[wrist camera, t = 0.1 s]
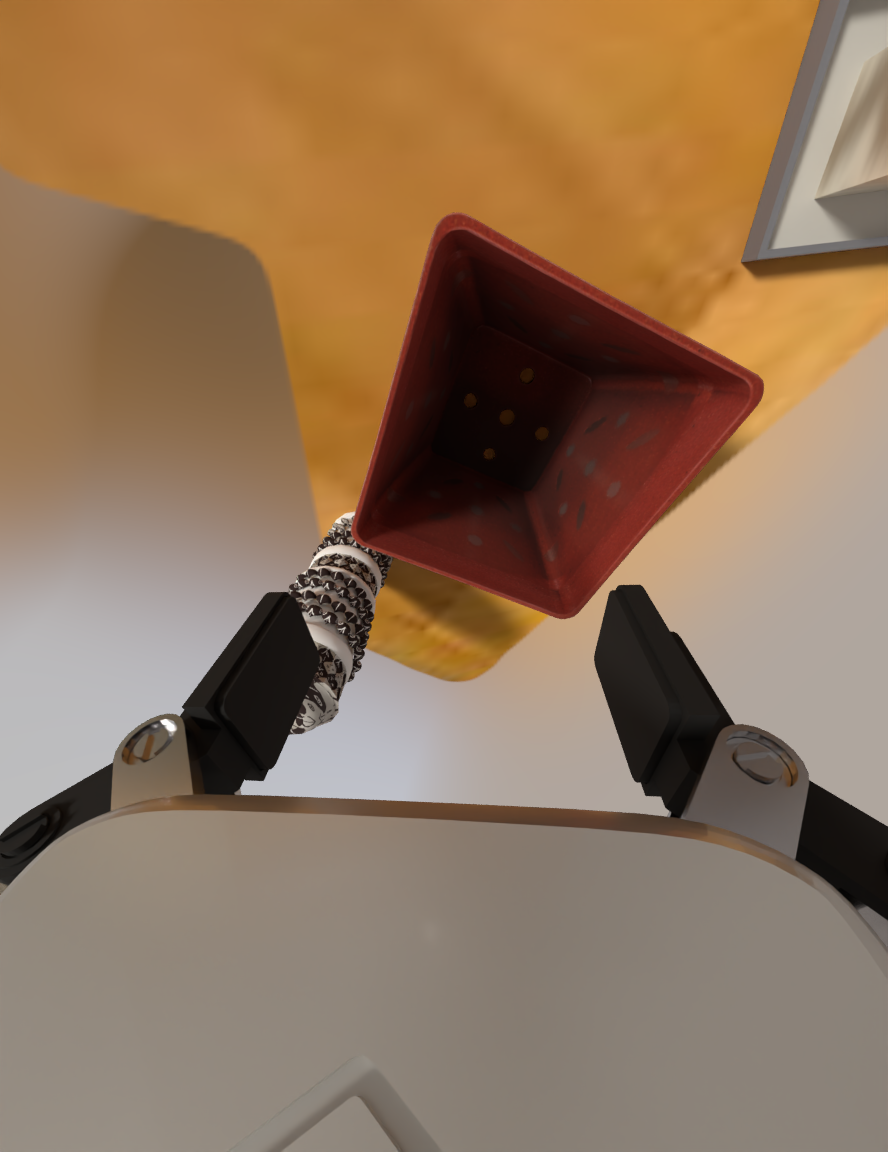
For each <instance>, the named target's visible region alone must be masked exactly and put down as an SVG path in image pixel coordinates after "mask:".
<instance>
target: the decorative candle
mask: <svg viewBox="0 0 888 1152" xmlns="http://www.w3.org/2000/svg"><path fill="white" fill-rule="evenodd" d="M354 515H355V512H349V513H345V514H344V515H342V516H341V517H340V518H338V519H337V520H336V521H335V523H334V524H333V525H332V526H333V527H332V529H330V530H329V531H328V535H329V536H330V537H324V538H323V544H320V545H319V546H318V551H316V552H315V553H314V554H313V561H312V563H311V565H310V567H309V569H308V570H307V571H305V572H304V573H302V574H300V575H298V576H297V581H296V583H295V584H291V585H290V586H289V592H288V593H289V594H290V595H291V597H294V598H295V599H296V600H297V603H298V605H299V607H300V610H301V612H302V614H303V617H304V619H305V622H306V624H307V626H308V629H309V631H310V633H311V636H312V638H313V640H314V643H315V645H316V648H317V650H318V652H319V655H320V664H319V667H318V669H317V672H316V674H315V676H314V678H313V681H312V683H311V685H310V688H309V690H308V692H307V694H306V697H305V699H304V701H303V703H302V706H301V708H300V710H299V712H298V715H297V717H296V719H295V721H294V724H293V726H292V728H291V731H290V733H289V735H290V734H302V733H305V732H307V731H310V730H312V729H314V728H315V727H317V726H320V725H322V724H325V723H328V722H330V721H332V719H333V718H334V717H335V715H337V713H338V701H339V699H340V696H341V693H342V690H343V687H344V685H345V684H346V683H347V682H350V681H352V680H353V679H354V672H357V671H359V670H360V669H361V663H360V661H359V660H361V659H362V658H363V657H364V654H365V652H364V650H363V649H364V648H365V647H366V645H367V640H368V639H369V634H368V633H367V632H369V631H370V630H371V627H372V625H371V623H370V622H372V621H373V619H374V613H375V602H376V600H375V598H376V596H377V595H378V593H379V590H380V588H382V587H383V586H384V584H385V582H384V579H386V577H387V573H386V572H388V571H389V569H390V567H391V563H392V561H393V557H391V556H389V555H386V554H383V553H380V552H377V551H375V550H372V549H369V548H366V547H364V546H362V545H360V544H358V543H357V542H356V541H355V540H354V539H353V537H352V535H351V525H352V522H353V518H354ZM353 655H354V659H353Z"/></svg>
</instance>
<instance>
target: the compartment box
mask: <svg viewBox="0 0 888 1152" xmlns="http://www.w3.org/2000/svg"><path fill="white" fill-rule="evenodd" d="M887 47H888V0H820V3H819V7H818V10H817V13H816V17H815V20H814V23H813V26H812V30H811V33H810V36H809V40H808V43H807V46H806V49H805V53H804V56H803V59H802V63H801V66H800V69H799V73H798V76H797V79H796V82H795V86H794V89H793V92H792V96H791V99H790V102H789V105H788V109H787V112H786V115H785V119H784V122H783V125H782V129H781V132H780V135H779V138H778V142H777V145H776V148H775V152H774V155H773V158H772V161H771V165H770V168H769V171H768V175H767V178H766V181H765V185H764V188H763V191H762V194H761V198H760V201H759V204H758V208H757V211H756V214H755V218H754V221H753V224H752V227H751V231H750V234H749V237H748V241H747V244H746V247H745V250H744V254H743V257H742V260H741V262H749V261H758V260H767V259H776V258H785V257H794V256H803V255H812V254H821V253H830V252H839V251H848V250H857V249H866V248H875V247H884V246H888V190H883V191H875V192H867V193H859V194H851V195H843V196H835V197H827V198H819V199H814V198H815V195H816V193H817V190H818V187H819V185H820V182H821V179H822V176H823V174H824V171H825V168H826V165H827V163H828V160H829V157H830V154H831V152H832V149H833V146H834V143H835V141H836V138H837V135H838V133H839V130H840V127H841V124H842V122H843V119H844V116H845V113H846V111H847V108H848V105H849V102H850V100H851V97H852V94H853V92H854V89H855V86H856V83H857V81H858V78H859V75H860V72H861V70H862V67H863V64H864V62H865V61H867V60H868V59H870V58H871V57H873V56H874V55H876V54H878V53H879V52H881V51H882V50H884V49H885V48H887Z"/></svg>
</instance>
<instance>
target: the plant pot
mask: <svg viewBox="0 0 888 1152" xmlns="http://www.w3.org/2000/svg"><path fill="white" fill-rule="evenodd" d="M525 368H531V369H533V371H534V373H535V378H534V379H533V381H532V382H531V383H530V384H523V383H522V382H521V381H520V373H521V372H522V370H523V369H525ZM763 391H764V383H763V380H762V379H761V378H760V377H759V376H758V375H757V374H755V373H753V372H751V371H750V370H748V369H746V368H744V367H743V366H741V365H739V364H737V363H735V362H734V361H732V360H730V359H728V358H726V357H725V356H723V355H721V354H719V353H718V352H716V351H714V350H712V349H710V348H708V347H706V346H704V345H703V344H701V343H699V342H697V341H695V340H693V339H691V338H689V337H687V336H685V335H684V334H682V333H680V332H678V331H676V330H674V329H672V328H671V327H669V326H667V325H665V324H663V323H661V322H660V321H658V320H656V319H654V318H652V317H650V316H648V315H647V314H645V313H643V312H641V311H639V310H638V309H636V308H634V307H632V306H630V305H628V304H627V303H625V302H623V301H621V300H619V299H617V298H615V297H613V296H611V295H609V294H608V293H606V292H604V291H602V290H601V289H599V288H597V287H595V286H594V285H592V284H590V283H588V282H586V281H585V280H583V279H581V278H579V277H577V276H575V275H574V274H572V273H570V272H568V271H566V270H565V269H563V268H561V267H559V266H557V265H556V264H554V263H552V262H550V261H549V260H547V259H545V258H543V257H541V256H540V255H538V254H536V253H534V252H532V251H531V250H529V249H527V248H525V247H523V246H522V245H520V244H518V243H516V242H514V241H513V240H511V239H509V238H507V237H506V236H504V235H502V234H500V233H499V232H497V231H495V230H493V229H492V228H490V227H488V226H486V225H485V224H483V223H481V222H479V221H478V220H476V219H474V218H472V217H471V216H469V215H467V214H464V213H451V214H448V215H446V216H445V217H443V218H442V219H441V220H440V221H439V223H438V224H437V225H436V227H435V230H434V232H433V234H432V237H431V241H430V244H429V248H428V251H427V255H426V259H425V263H424V266H423V270H422V274H421V278H420V281H419V285H418V289H417V293H416V296H415V300H414V303H413V307H412V311H411V314H410V318H409V322H408V325H407V329H406V333H405V336H404V340H403V344H402V347H401V351H400V355H399V358H398V362H397V366H396V369H395V373H394V376H393V380H392V384H391V387H390V391H389V395H388V398H387V402H386V406H385V409H384V413H383V417H382V420H381V424H380V428H379V431H378V435H377V439H376V442H375V446H374V449H373V453H372V457H371V460H370V464H369V467H368V471H367V474H366V478H365V481H364V484H363V488H362V491H361V494H360V498H359V501H358V505H357V508H356V511H355V515H354V518H353V522H352V525H351V535H352V537H353V539H354V540H355V541H356V542H357V543H358V544H360V545H362V546H364V547H366V548H369V549H372V550H375V551H377V552H380V553H383V554H386V555H389V556H391V557H394V558H397V559H399V560H402V561H405V562H408V563H411V564H413V565H416V566H419V567H422V568H424V569H427V570H430V571H432V572H435V573H438V574H441V575H443V576H446V577H449V578H452V579H454V580H457V581H460V582H463V583H465V584H468V585H471V586H473V587H476V588H479V589H481V590H484V591H487V592H489V593H492V594H495V595H497V596H500V597H503V598H505V599H508V600H511V601H513V602H516V603H518V604H521V605H524V606H526V607H529V608H532V609H534V610H537V611H540V612H542V613H545V614H547V615H550V616H553V617H555V618H559V619H567V618H571V617H574V616H575V615H576V614H578V613H579V611H580V610H581V609H582V608H583V607H584V606H585V604H586V603H587V602H588V601H589V600H590V599H591V597H592V596H593V595H594V594H595V593H596V591H597V590H598V589H599V588H600V587H601V585H602V584H603V583H604V582H605V581H606V580H607V579H608V577H609V576H610V575H611V574H612V573H613V571H614V570H615V569H616V568H617V567H618V566H619V564H620V563H621V562H622V561H623V560H624V559H625V557H626V556H627V555H628V554H629V553H630V552H631V550H632V549H633V548H634V547H635V546H636V545H637V544H638V542H639V541H640V540H641V539H642V538H643V537H644V536H645V534H646V533H647V532H648V531H649V530H650V528H651V527H652V526H653V525H654V524H655V523H656V521H657V520H658V519H659V518H660V517H661V516H662V515H663V513H664V512H665V511H666V510H667V509H668V508H669V506H670V505H671V504H672V503H673V502H674V501H675V499H676V498H677V497H678V496H679V495H680V494H681V493H682V491H683V490H684V489H685V488H686V487H687V486H688V485H689V483H690V482H691V481H692V480H693V479H694V478H695V477H696V476H697V474H698V473H699V472H700V471H701V470H702V469H703V468H704V466H705V465H706V464H707V463H708V462H709V461H710V459H711V458H712V457H713V456H714V455H715V454H716V452H717V451H718V450H719V449H720V448H721V447H722V446H723V445H724V443H725V442H726V441H727V440H728V439H729V438H730V437H731V436H732V435H733V433H734V432H735V431H736V430H737V429H738V428H739V426H740V425H741V424H742V423H743V422H744V421H745V419H746V418H747V417H748V416H749V415H750V414H751V412H752V411H753V410H754V409H755V408H756V406H757V405H758V404H759V402H760V401H761V399H762V396H763ZM469 393H473V394H475V395H476V398H477V399H478V403H477V406H476V407H474V408H468V407H466V406H465V404H464V398H465V396H466V395H467V394H469ZM506 409H510V410H512V411H513V413H514V414H515V420H514V422H513V423H512V424H511V425H509V426H504V425H502V424H501V423H500V420H499V416H500V414H501V412H502V411H504V410H506ZM540 427H546V428H547V429H548V431H549V435H548V437H547V438H546V439H545V440H542V441H539V440H537V439H536V437H535V432H536V431H537V429H538V428H540ZM487 448H492V449H494V450H495V454H496V456H495V458H494V459H493V460H486V459H485V458H484V456H483V453H484V451H485V449H487Z"/></svg>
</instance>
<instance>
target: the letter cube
mask: <svg viewBox="0 0 888 1152" xmlns="http://www.w3.org/2000/svg"><path fill="white" fill-rule="evenodd" d="M883 190H888V47H887V48H885V49H884V50H882V51H881V52H879V53H878V54H876V55H874V56H873V57H871V58H870V59H868V60H867V61H865V62H864V64H863V67H862V70H861V72H860V75H859V78H858V81H857V83H856V86H855V89H854V92H853V94H852V97H851V100H850V102H849V105H848V108H847V111H846V113H845V116H844V119H843V122H842V124H841V127H840V130H839V133H838V135H837V138H836V141H835V143H834V146H833V149H832V152H831V154H830V157H829V160H828V163H827V165H826V168H825V171H824V174H823V176H822V179H821V182H820V185H819V187H818V190H817V193H816V195H815V198H814V199H819V198H827V197H835V196H843V195H851V194H859V193H867V192H875V191H883Z"/></svg>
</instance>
